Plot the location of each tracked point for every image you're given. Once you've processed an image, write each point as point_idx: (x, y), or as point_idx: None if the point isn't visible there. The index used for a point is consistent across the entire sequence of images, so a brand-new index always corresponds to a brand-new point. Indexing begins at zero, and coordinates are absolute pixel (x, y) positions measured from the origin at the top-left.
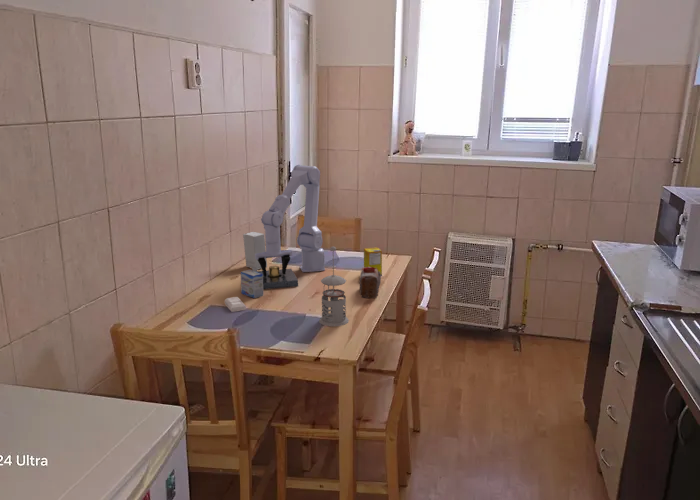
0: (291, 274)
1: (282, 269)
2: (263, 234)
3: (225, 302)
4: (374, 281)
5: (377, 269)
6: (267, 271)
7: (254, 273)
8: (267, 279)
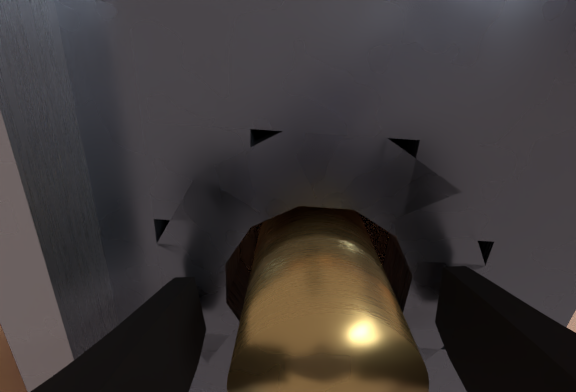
0: (536, 305)
1: (473, 315)
2: None
3: None
4: None
5: None
6: (259, 43)
7: None
8: (215, 370)
